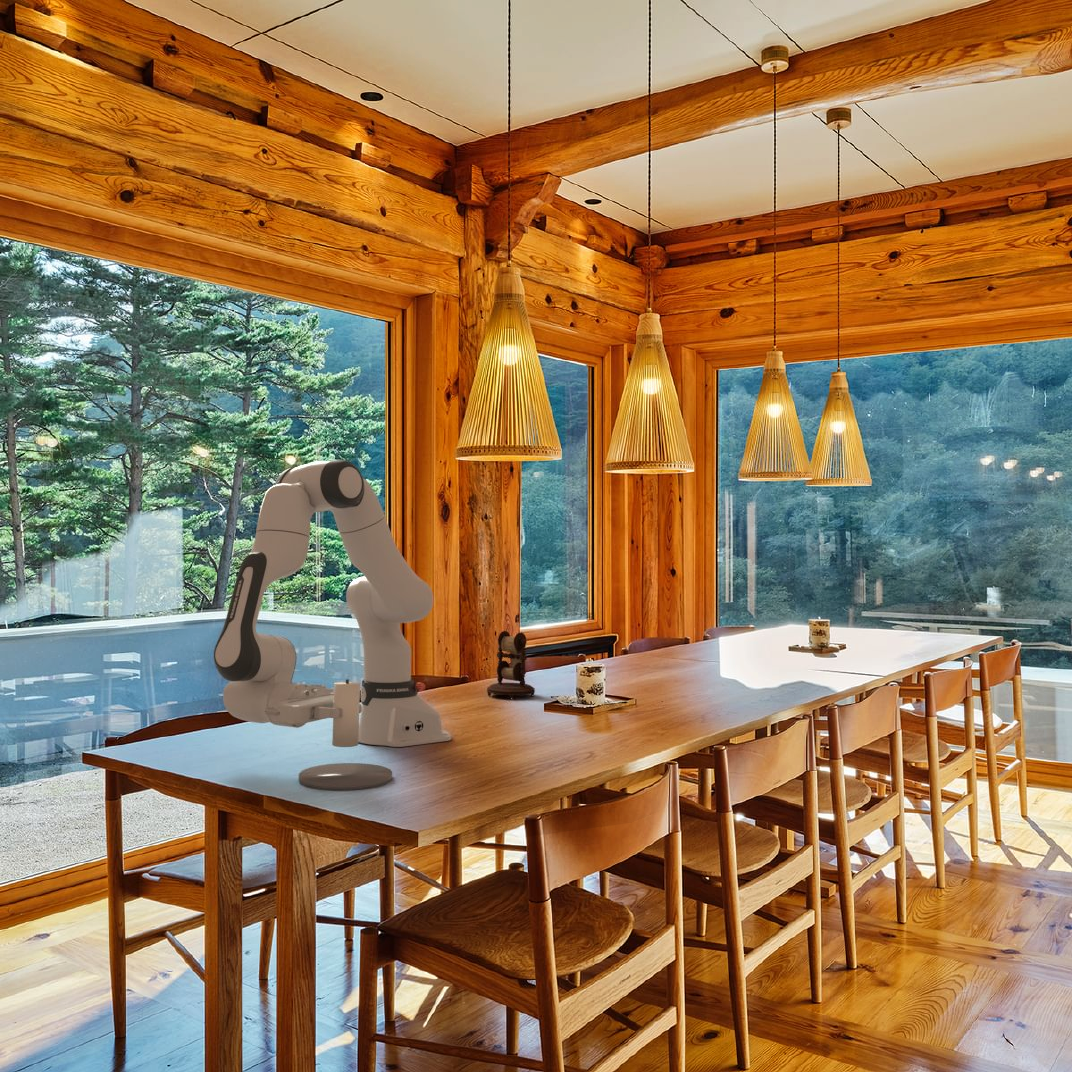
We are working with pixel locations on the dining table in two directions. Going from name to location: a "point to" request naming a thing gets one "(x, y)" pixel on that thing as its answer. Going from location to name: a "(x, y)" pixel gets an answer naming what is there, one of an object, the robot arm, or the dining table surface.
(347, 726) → the candle
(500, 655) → the double spool stand
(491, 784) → the dining table surface
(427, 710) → the robot arm
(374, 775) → the plate
